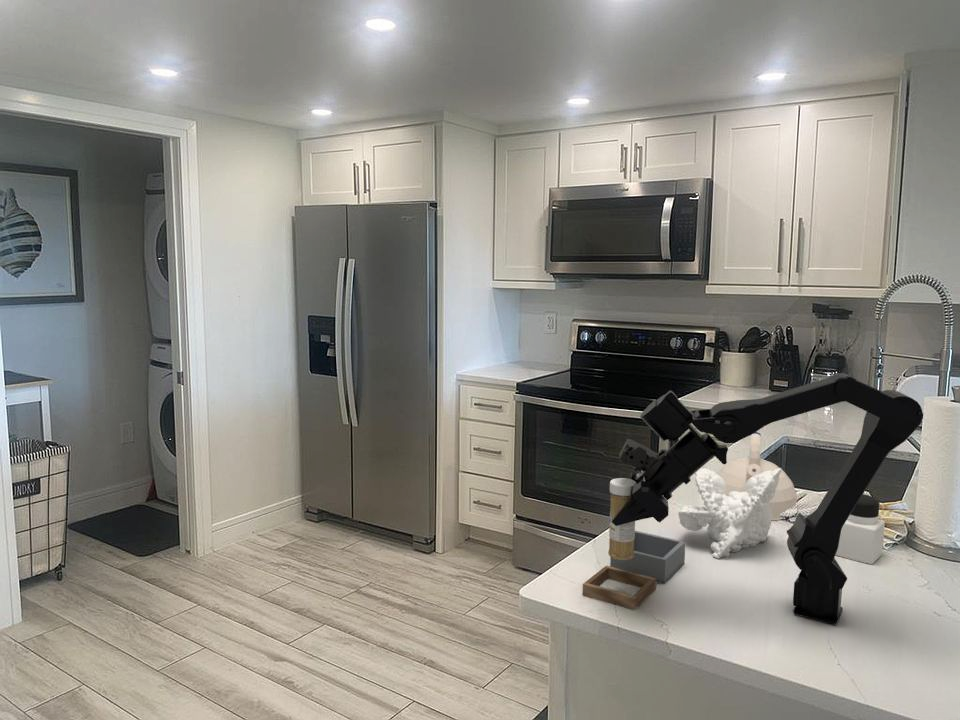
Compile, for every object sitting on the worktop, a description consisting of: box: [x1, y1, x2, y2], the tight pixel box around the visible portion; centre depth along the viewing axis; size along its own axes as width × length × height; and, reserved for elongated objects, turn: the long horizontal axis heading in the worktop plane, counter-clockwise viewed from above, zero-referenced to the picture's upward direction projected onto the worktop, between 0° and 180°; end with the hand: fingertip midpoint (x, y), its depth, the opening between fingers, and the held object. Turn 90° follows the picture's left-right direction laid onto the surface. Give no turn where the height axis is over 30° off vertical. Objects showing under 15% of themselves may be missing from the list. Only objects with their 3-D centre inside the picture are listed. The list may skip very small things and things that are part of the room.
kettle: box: [715, 431, 798, 522], centre depth 171 cm, size 20×21×18 cm
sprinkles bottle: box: [608, 477, 637, 560], centre depth 125 cm, size 5×5×13 cm
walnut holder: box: [581, 565, 657, 611], centre depth 126 cm, size 10×10×2 cm
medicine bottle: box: [835, 493, 886, 565], centre depth 143 cm, size 7×7×12 cm
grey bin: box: [609, 530, 686, 585], centre depth 137 cm, size 11×11×4 cm
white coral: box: [677, 467, 783, 560], centre depth 149 cm, size 19×20×20 cm
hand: (614, 518), depth 125 cm, fingers closed on sprinkles bottle, 4 cm apart
